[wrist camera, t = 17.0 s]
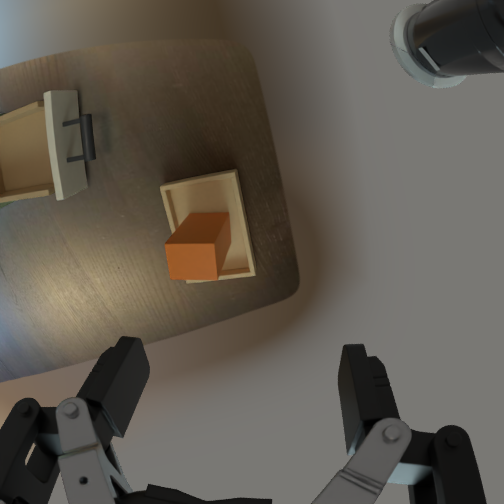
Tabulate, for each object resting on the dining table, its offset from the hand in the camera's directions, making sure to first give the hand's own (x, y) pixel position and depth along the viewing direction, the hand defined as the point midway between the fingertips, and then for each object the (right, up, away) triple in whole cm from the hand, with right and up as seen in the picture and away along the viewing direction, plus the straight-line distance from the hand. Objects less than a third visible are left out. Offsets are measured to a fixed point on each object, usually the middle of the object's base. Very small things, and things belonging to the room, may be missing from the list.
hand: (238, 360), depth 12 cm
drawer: (-28, +19, +24) cm, 42 cm away
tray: (-5, +7, +28) cm, 29 cm away
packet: (-5, +7, +28) cm, 29 cm away
